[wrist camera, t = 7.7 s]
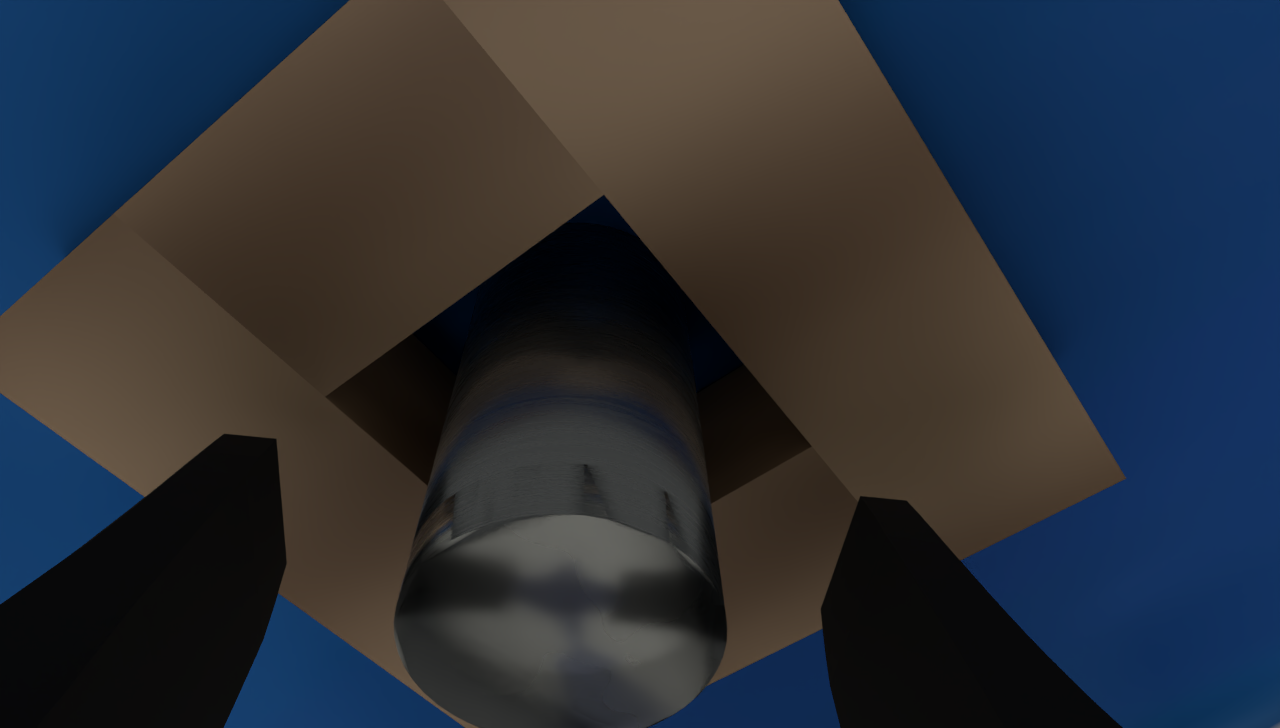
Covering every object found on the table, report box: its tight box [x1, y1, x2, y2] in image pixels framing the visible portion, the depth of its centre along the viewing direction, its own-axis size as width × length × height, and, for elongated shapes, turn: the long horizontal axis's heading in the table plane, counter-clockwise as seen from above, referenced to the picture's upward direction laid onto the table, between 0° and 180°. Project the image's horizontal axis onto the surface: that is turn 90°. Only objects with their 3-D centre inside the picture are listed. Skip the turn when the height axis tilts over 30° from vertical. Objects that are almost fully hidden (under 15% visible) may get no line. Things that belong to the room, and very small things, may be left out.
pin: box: [394, 223, 727, 728], centre depth 13 cm, size 4×4×7 cm
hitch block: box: [0, 0, 1126, 728], centre depth 15 cm, size 12×12×3 cm
